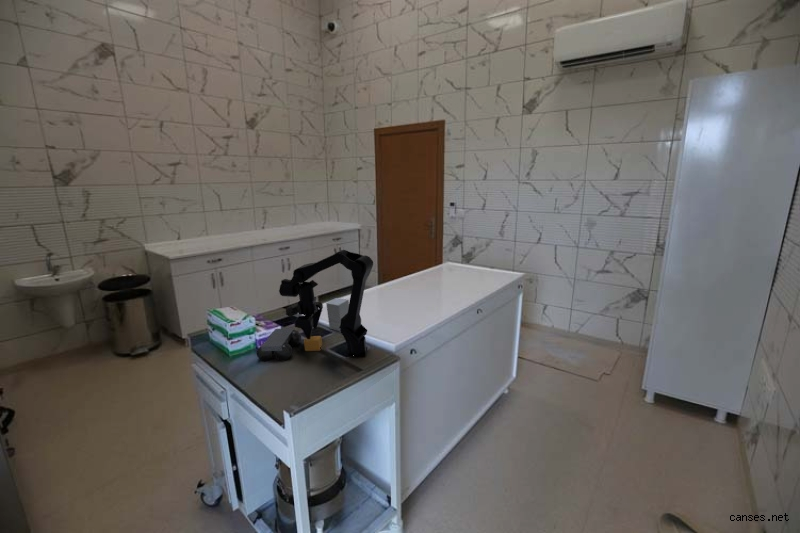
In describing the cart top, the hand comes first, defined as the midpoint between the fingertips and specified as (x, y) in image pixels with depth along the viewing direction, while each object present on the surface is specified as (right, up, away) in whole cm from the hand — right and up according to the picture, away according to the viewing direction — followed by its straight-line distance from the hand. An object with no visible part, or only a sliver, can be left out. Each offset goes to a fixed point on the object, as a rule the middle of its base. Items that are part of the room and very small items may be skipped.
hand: (312, 333), depth 147 cm
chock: (0, -6, +2) cm, 7 cm away
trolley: (-13, -7, +1) cm, 15 cm away
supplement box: (+8, -1, +20) cm, 21 cm away
